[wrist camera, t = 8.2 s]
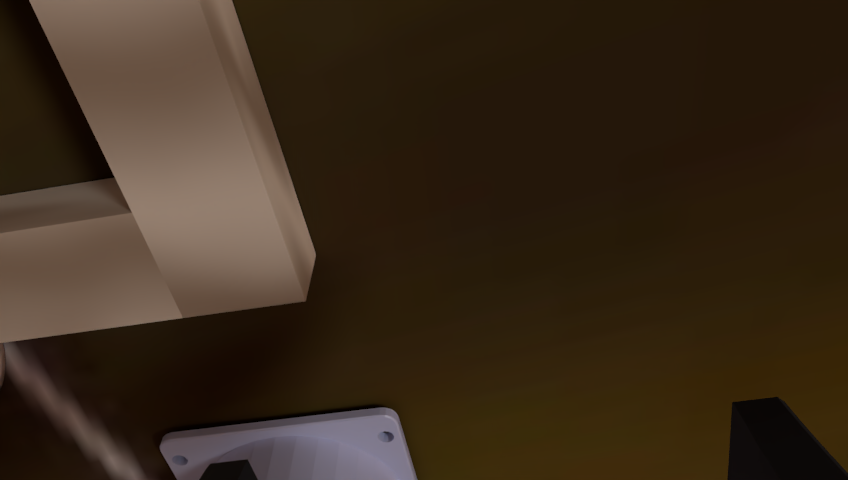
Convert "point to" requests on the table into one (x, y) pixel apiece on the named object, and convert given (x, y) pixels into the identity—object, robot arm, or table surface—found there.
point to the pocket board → (155, 179)
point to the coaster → (2, 364)
